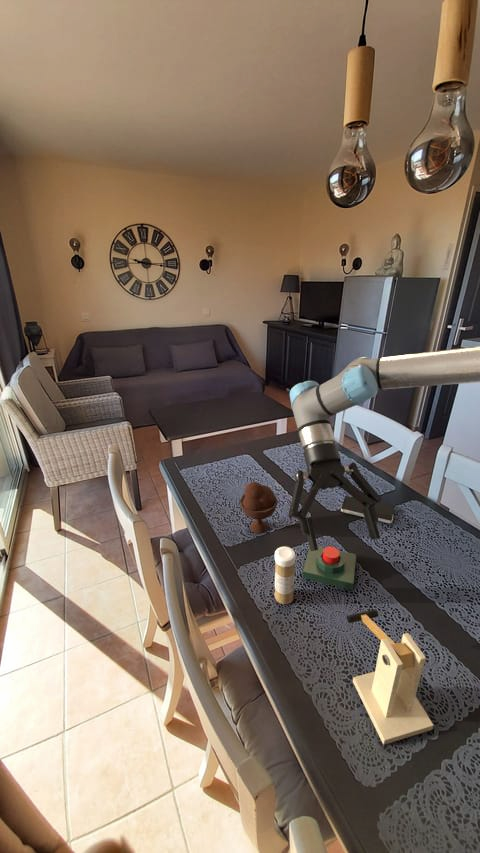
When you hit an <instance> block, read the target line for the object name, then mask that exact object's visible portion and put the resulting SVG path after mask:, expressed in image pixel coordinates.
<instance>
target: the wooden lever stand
mask: <svg viewBox="0 0 480 853" xmlns="http://www.w3.org/2000/svg"><path fill="white" fill-rule="evenodd" d="M401 642H402V643H403V644H404V645H405V646H406V647H407V648H408V649H409V650H410V651H411V652H412V656H413V666H414V667H411V668H408V669H404V670H402V666H403V663H402V662H401V660H400V658H399V657H398V655H397V654H396V652H395V651H394V649H393V647H392V646H391V644H390V643H389V641H388V640H387V638H385V639H381V640H380V644H379V650H378V655H377V659H376V665H375V669H374V671H372V672H368V673H365V674H360V675H357V676H353V677H352V678H353V679H352V683H353V685H354V687H355V689H356V692H357V694H358V696H359V697H360V700H361V701H362V703H363V706H364V707H365V710H366V712H367V715H368V716H369V718H370V720H371V722H372V724H373V726H374V728H375V730H376V732H377V735H378V736H379V739H380V741H381V743H382V745H383V746H385V745H388V744H391V743H395V742H398V741H400V740H403V739H404V740H405V739H407V738H410V737H414V736H417V735H421V734H424V733H427V732H430V731H432V730H433V728H434V723H433V722H432V719H430V717H429V715H428V714H427V712H426V710H425V709H424V707H423V706H422V704H421V702H420V700H419V699H418V698H417V692H418V690H419V686H420V681H421V677H422V674H423V670H424V667H425V663H426V659H427V658H426V656H425V655H424V653H423V652H422V650H421V648H420V647H419V646H418V644H417V643H416V641H415V640H414V639H413V637H412V636H411V635H410V633H409V632H405V633H403V634H402V638H401Z"/></svg>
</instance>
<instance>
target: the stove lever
mask: <svg viewBox="0 0 480 853" xmlns="http://www.w3.org/2000/svg"><path fill="white" fill-rule="evenodd" d="M378 617H379V612H378V610H377V609H371V610H366V611H361V612H357V613H353V614H348V615H346V620H347V623H349V624H353V623H357V622H362V623H363V624H364V625H365V626H366V627H367V629H369V630H370V631H371V632H372V633H373V634H374V635H375V637H376V638H378V639H379V640H380V641H381V639H385V638H387V640H388V641H389V643H390V644H391V646H392V647H393V649H394V651H395V652H396V654H397V655H398V657H399V658H400V660H401V662H402V663H403V666H402V670H404V669H408V668H411V667H414V666H413V656H412V652H411V651H410V650H409V649H408V648H407V647H406V646H405V645H404V644H403V643H402V642H394V641H393V640H392V638H390V636H388V635H387V633H385V632H384V631H383V630H382V629H381V628H380V627H379V626H378V625H377V623H375V622H374V620H372V619H374V618H378Z"/></svg>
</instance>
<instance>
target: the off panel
mask: <svg viewBox="0 0 480 853" xmlns="http://www.w3.org/2000/svg"><path fill="white" fill-rule="evenodd" d="M317 546H318V545H317ZM324 548H325V547H323V546H318V550H316V551H310V547H309V546H308V550H307V555H306V557H305V558H306V559H305V561H304V566H303V569H302V579H305V580H310V581H313V582H317V583H321V584H326V585H329V586H332V587H337V588H341V589H346V590H349V591H353V590H354V586H355V585H354V584H355V575H356V574H355V573H356V562H357V554H356V553H351V552H346V551H343V550H342V551H341V550H339V549H338V551H339V553H340V555H339V561H338V563H336V564H328V563H326V562H325V561H324V560H323V550H324Z"/></svg>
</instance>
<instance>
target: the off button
mask: <svg viewBox="0 0 480 853" xmlns="http://www.w3.org/2000/svg"><path fill="white" fill-rule="evenodd" d="M338 550H339V549H338V548H336V547H334V546H326V547H324V550H323V560H324V561H325V562H326V563H328V564H336V563H338V561H339V555H340V553H339V551H340V550H339V551H338Z"/></svg>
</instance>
